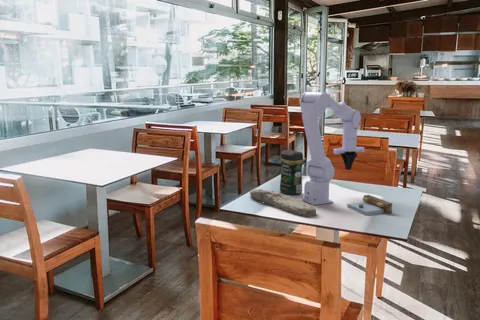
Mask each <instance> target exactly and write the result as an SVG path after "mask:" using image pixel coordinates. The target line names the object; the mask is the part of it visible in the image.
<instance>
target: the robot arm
mask: <svg viewBox="0 0 480 320" xmlns="http://www.w3.org/2000/svg"><path fill="white" fill-rule="evenodd" d="M299 105H300V112H301V119H302V124H303V128H304V133H305V136H306V137H305V138H306V141H307V145H308V151H309V155H310V158H309V159H308V161H307V162H306V165H307V166H306V168H307V169H306V173H307V175H308V176H309V180H307V181H305V183H304V186H303V188H304V190H303V191H304V192H303V199H302V201H305V202H307V204H308V203H309V205H311V206H312V205H313V206H316V205H321V204H322V205H323V204H329V203H330V204H331V203H334V200H331V199H330V181H332V180H333V178H334V176H335V172H336V171H335V167H334V166H333V164H332V160H330V158H328V157H327V156H326V153H325V148H324V144H323V140H322V134H321V130H320V126H319V120H318V119H319V118H321V117H322V116H323V115H324V113H325V112H326V110H327V109H330V110H332V114H333V115H334V116H336V117H337V118H339V119H340V121H341V122H342V123H343V125H342V127H343V129H342V145H341V146H342V147H339V148H333V154H334V155H338V154H340V156H341V159H342V160H343V163H344V169H345V170H347V171H351V170H352V167H353V163H354V162H355V160H356V158H357V157H358V153H364V152H365V147H364V146H357V137H358V128H359V126H360V121H361V119H362V116H361V112H360V111H359V110H358V109H353V108H352V106H351V105H350V106H349V105H347V104H346V101H340V102H338V101H336V100H335V99H334V98H333V97H331V94H329V93H327V92H326V91H323V92H318V91H304V92H302V95H301V97H300V99H299Z"/></svg>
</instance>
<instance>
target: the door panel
mask: <svg viewBox="0 0 480 320" xmlns="http://www.w3.org/2000/svg"><path fill="white" fill-rule="evenodd" d="M346 206H347V208H348V209H351V210H353V211H355V212H357V213H360V214H361V215H365V216H370V215H371V216H373V215H378V214H384V209H381V208H379V207H376V206H374V205H371V204H369V203H366V202H363V201H360V202H352V203H347V205H346Z"/></svg>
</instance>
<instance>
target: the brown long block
mask: <svg viewBox="0 0 480 320" xmlns="http://www.w3.org/2000/svg"><path fill="white" fill-rule="evenodd" d="M362 200H363V201H362V202H366V203H369V204H371V205H374V206H376V207H379V208H381V209H384V212H383V214H391V213H393V212H392V211H393V203H392V202H391V201H390V202H389V201H386V200H384V199H382V198H378V197H376V196H373V195H371V194H365V195H363V197H362Z"/></svg>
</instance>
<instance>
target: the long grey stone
mask: <svg viewBox="0 0 480 320" xmlns="http://www.w3.org/2000/svg"><path fill="white" fill-rule="evenodd" d="M249 195H250V197H251V198H253V199H254V200H256V201H258V200H259V201H258V202H260V201H261V202H264V203H267V204H266V205H269V206H272V207H277V208H279V209H280V210H285V211H288V212H289V213H292V214H295V215H299V216H303V217H314V216H316V214H317V209H316V208H315V207H314V206H312V204H308V203H304V202H301V201H299V200H297V199H296V200H295V199H293V198H291V197H289V196H286V195H285V194H284V193H282V192H281V193H280V192H277V191H274V190H272V191H270V190H264V189H261V188H257V189H256V188H255V189H251V190H250V192H249ZM261 202H260V203H261ZM264 203H263V204H264Z"/></svg>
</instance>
